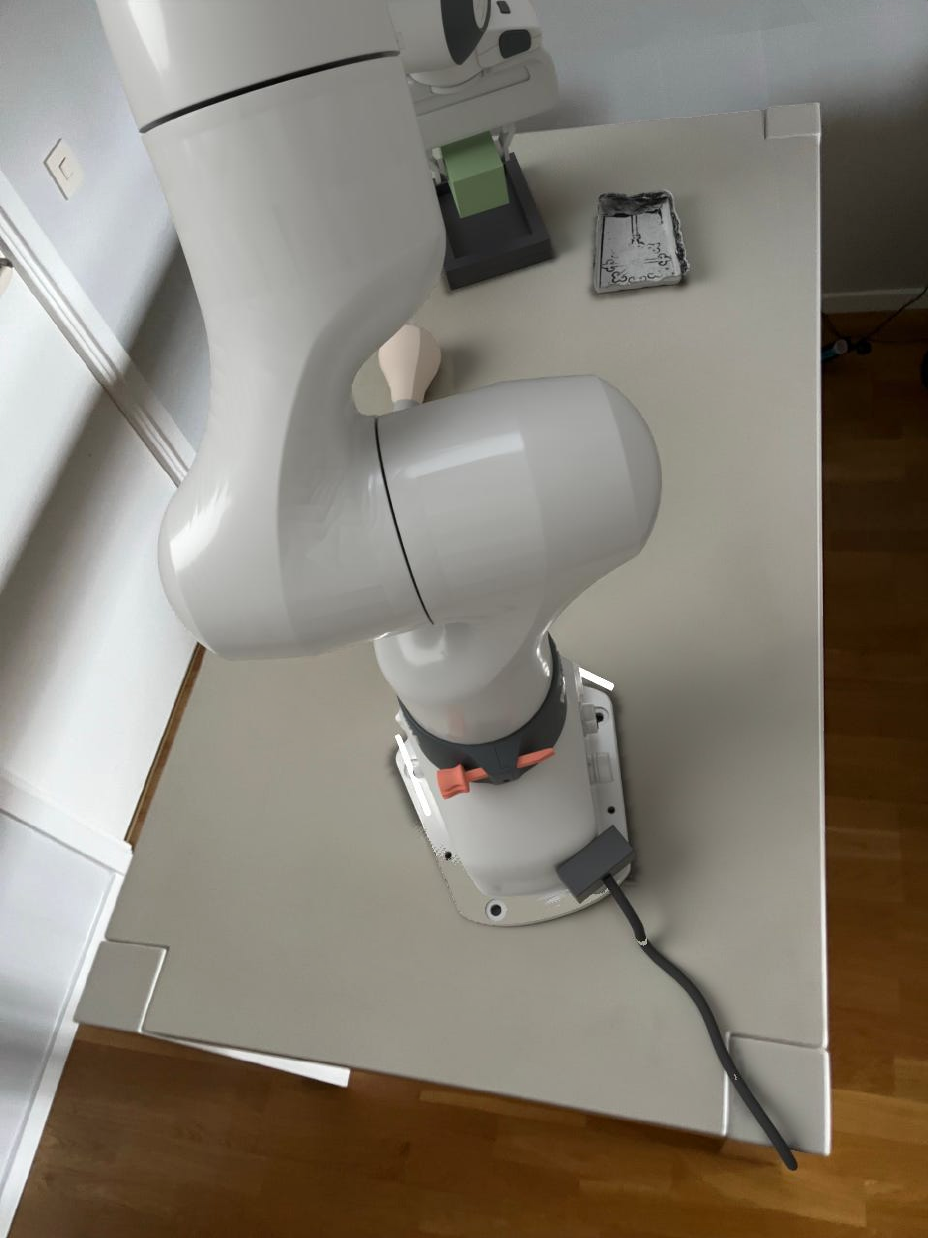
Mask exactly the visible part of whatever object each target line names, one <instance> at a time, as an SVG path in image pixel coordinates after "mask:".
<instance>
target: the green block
mask: <svg viewBox="0 0 928 1238" xmlns="http://www.w3.org/2000/svg"><path fill="white" fill-rule="evenodd" d="M494 141H495V140H494V138H493V137H492V133H491V130H489V131H486V132H483V133H480V134H477V135H474V136H471V137H468V138H465V139H462V140H459V141H456V142H453V143H450V144H447V145H444V146H441V147H438V153H439V156H440V158H443V159H444V162H445V165H446V168H447V172H448V177H449V180H448V183H449V186H450V189H451V191H452V194H453V197H454V200H455V203H456V206H457V209H458V212H459V215H460V218H464V217H467V216H470V215H473V214H476V213H479V212H483V211H486V210H489V209H492V208H495V207H498V206H501V205H505V204H508V203H509V198H508V191H507V185H506V179H505V173H504V166H503V164H502V161H501V159H500V156H499V153H498V151H497V148H496V146H495V143H494Z"/></svg>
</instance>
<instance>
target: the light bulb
mask: <svg viewBox="0 0 928 1238" xmlns="http://www.w3.org/2000/svg"><path fill="white" fill-rule="evenodd" d="M377 358H378V363H379V367H380V369H381V371H382V373H383V375H384V378H385V380H386V382H387V385H388V387H389V389H390V397H391V398H390V399H391V401H392V403H393V411H392V412H395V411H399V410H402V409H406V408H409V407H413V406H416V405H420V404H423V403H424V398H425V393H426V391H427V389H428V387H429V386H430V384H431V383H432V381H433V380H434V378H435V377H436V376H437V373H438V371H439V367H440V364H441V360H442V354H441V347H440V345H439V342H438V340H437V338H436V337H435V336H434V334H433V333H432V332H431V331H430V330H428V329H427V328H426V327H424V326H421V325H419V324H417V323H406V324H405V325H404V326H403V327H402V328H401V329H400V330H399V331H398V332H397V333H396V334H395V335H394V336H392V337H391V338H390V339H389V340H388V341H387V342H386V343H385V344H384V345H383V346H382V347H381V348H379V349H378V355H377Z"/></svg>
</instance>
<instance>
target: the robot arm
mask: <svg viewBox="0 0 928 1238" xmlns="http://www.w3.org/2000/svg"><path fill="white" fill-rule="evenodd" d="M94 1H95V5H96V9H97V11H98V16H99V18H100V19H99V20H100V23H101V25H102V29H103V33H104V36H105V39H106V42H107V44H108V48H109V52H110V54H111V57H112V60H113V64H114V66H115V69H116V72H117V75H118V78H119V81H120V84H121V87H122V90H123V92H124V95H125V98H126V100H127V103H128V106H129V109H130V111H131V114H132V117H133V121H134V122H135V125H136V128H137V130H138V133H140V134H142V135H141V136H140V138H141V140H142V143H143V145H144V148H145V150H146V153H147V156H148V158H149V161H150V164H151V166H152V169H153V171H154V174H155V177H156V180H157V182H158V184H159V187H160V189H161V192H162V195H163V197H164V200H165V203H166V206H167V208H168V211H169V214H170V217H171V220H172V223H173V225H174V228H175V231H176V234H177V236H178V240H179V243H180V245H181V249H182V252H183V255H184V257H185V261H186V264H187V267H188V269H189V270H188V271H189V273H190V276H191V280H192V283H193V287H194V290H195V293H196V296H197V299H198V303H199V306H200V310H201V315H202V319H203V322H204V326H205V332H206V337H207V345H208V349H209V350H208V351H209V362H210V363H209V368H210V369H209V370H210V388H209V389H210V391H209V392H210V393H209V402H208V403H209V404H208V410H207V415H206V420H205V421H206V422H205V427H204V431H203V434H202V437H201V440H200V444H199V447H198V449H197V452H196V454H195V457H194V459H193V462H192V464H191V465H190V467H189V469H188V471H187V473H186V474H185V476H184V478H183V480H182V481H181V483H180V484H179V486H178V487H177V489H176V490H175V491H174V493H173V495H172V496H171V498H170V500H169V502H168V504H167V506H166V508H165V511H164V514H163V516H162V519H161V522H160V526H159V532H158V537H157V551H156V552H157V553H156V554H157V555H156V556H157V570H158V575H159V579H160V584H161V587H162V589H163V590H162V591H163V593H164V595H165V598H166V600H167V602H168V604H169V606H170V608H171V611H172V612H173V614H174V615H175V617H176V618H177V620H178V621H179V623H180V624H181V625H182V627H183V628H184V629H185V630H186V632H187V633H188V634H189V635H190V636H192V637H193V638H194V639H195V640H196V641H197V642H198V643H199V644H200V645H202V646H203V647H204V648H205V649H207V650H208V651H210V652H211V653H213V654H214V655H216V656H218V657H219V658H221V659H223V660H225V661H230V662H242V661H243V662H244V661H245V662H246V661H264V660H265V661H267V660H281V659H285V660H286V659H296V658H309V657H319V656H321V655H327V654H331V653H333V652H338V651H340V650H344V649H348V648H352V647H357V646H360V645H363V644H368V643H371V642H373V649H374V654H375V659H376V661H377V665H378V667H379V670H380V671H381V674H382V675H383V677H384V678H385V680H386V681H387V683H388V684H389V686H390V687H391V689H392V690H393V691H394V693H395V694H396V698H397V701H398V705H399V709H398V712H397V714H396V715H395V716H394V717H395V721H396V723H397V724H399V726H400V727H401V728H402V729H403V730H404V732H405V733H406V737H407V738H406V740H405V741H404V742H403V739H402V737H401V736H400V734H397V735H395V739H396V741H397V744H398V746H399V748H398V750H397V751H396V755H395V763H396V766H397V768H398V771H399V773H400V776H401V779H402V780H403V783H404V785H405V788H406V791H407V793H408V795H409V798H410V799H411V802H412V804H413V805H414V809H415V811H416V813H417V816H418V818H419V821H420V823H421V825H422V827H423V830H424V833H425V835H426V834H427V835H426V838H427V839H428V838H429V840H428V842H429V841H431V844H433V845H432V847H431V849H432V848H433V849H434V847H436V848H435V849H434V851H433V849H432V851H433V853H434V852H436V850H438V849H439V850H438V852H437V853H436V856H437V855H439V853H441V852H442V853H441V855H440V856H443V855H444V854H443V853H445V856H444V857H445V858H446V859H448V860H449V859H450V858H452V857H455V855H457V856H456V857H455V858H454V859H453V860H452V862H454V860H457V859H456V858H460V859H459V860H458V861H461V862H462V864H461V865H463V866H464V868H465V870H466V871H467V873H468V875H469V876H470V877H471V879H472V880H473V881H474V883H475V885H476V886H477V888H478V889H479V890H480V891H481V892H482V893H484V894H485V895H489V896H492V897H495V896H496V897H502V898H504V897H510V898H512V897H515V896H520V897H528V898H531V897H534V896H533V895H535V896H538V895H541V897H540V898H539V899H538V900H542V899H546V898H549V897H552V896H555V895H558V896H556V897H554V898H552V899H550V900H549V901H547V902H546V903H549V902H552V903H553V901H555V902H557V901H556V900H559V899H561V898H562V897H565V896H567V895H566V894H568V893H571V894H572V896H573V897H574V898H575V899H576V901H577V902H578V903H579V904H581V903H582V902H583V901H584V900H585V899H587V898H588V897H589V896H590V895H592V894H595V895H596V894H600V893H602V894H603V892H604V893H605V890H606V889H607V888H608V890H609V891H607V892H606V893H605V894H603V895H602V896H600V897H599V898H597V899H595V900H593V901H591V902H590V903H587V904H585V905H583V906H581V907H579V908H576V909H573V910H571V911H568V912H565V913H562V914H559V915H555V916H552V917H548V918H544V919H540V920H535V921H529V922H523V923H513V924H496V923H488V924H487V925H486V926H491V927H520V926H521V927H522V926H528V925H533V924H538V923H543V922H547V921H551V920H555V919H558V918H561V917H564V916H569V915H571V914H574V913H576V912H579V911H581V910H583V909H586V908H588V907H590V906H592V905H594V904H596V903H598V902H600V901H601V900H603V899H604V898H605V897H607V896H609V895H610V894H611V896H612V897H613V899H614V900H615V902H616V903H617V906H618V907H619V908H620V910H621V911H622V913H623V915H624V916H625V918H626V919H627V921H628V922H629V924H630V926H631V928H632V929H633V930H632V931H633V933H634V937H635V940H636V939H637V940H638V941H640V942H642V941H645V939H646V937H647V935H646V931H645V927H644V924H643V922H642V920H641V919H640V917H639V914H638V913H637V911H636V910H635V908H634V907H633V906H632V904H631V902H630V901H629V899H628V897H627V896H626V895H625V893H624V891H623V890H622V889H621V887H620V885H621V884H622V883H623V882H624V881H625V880H626V878H627V877H628V876H629V874H630V873H631V869H632V863H633V861H635V860H636V852H635V848H634V847H633V846H632V845H631V843H630V842H629V833H628V825H627V815H626V808H625V799H624V792H623V791H624V790H623V784H622V774H621V765H620V757H619V748H618V740H617V732H616V722H615V714H614V705H613V703H612V701H611V697H610V696H609V695H608V694H607V693H605V692H604V691H602V690H600V689H597V688H594V687H592V686H587V685H583V679H582V678H585V679H587V680H589V681H592V682H594V683H595V684H597V685H600V686H602V687H604V688H606V689H608V690H610V691H612V690H613V688H614V683H612V682H610V681H608V680H606V679H604V678H601V677H599V676H597V675H595V674H593V673H591V672H590V671H587V670H585V669H583V668H581V667H580V665H579V663H577V662H574V660H572V659H570V658H568V657H566V656H564V655H562V654H560V652H559V650H558V649H557V644H556V642H555V641H554V639H553V637H552V636H551V633H550V632H549V629H550V628H551V626H552V625H553V624H554V623H555V621H556V620H557V619H558V618H559V617H560V616H561V614H563V612H564V611H565V610H566V609H567V608H568V607H569V606H570V605H571V604H572V603H573V602H574V601H575V600H576V599H577V598H579V596H580V595H582V594H583V593H584V592H585V591H586V590H588V589H589V588H590V587H591V586H593V585H595V584H596V583H597V582H598V581H600V580H601V579H602V578H604V577H605V576H607V575H608V574H610V573H611V572H614V570H616V569H617V568H619V567H621V566H623V565H625V564H626V563H628V562H629V561H631V560H634V559H635V558H636V557H638V556H639V555H640V553H641V552H642V551H643V549H644V548H645V546H646V545H647V542H648V540H649V538H650V536H651V534H652V532H653V530H654V528H655V525H656V522H657V519H658V516H659V511H660V507H661V503H662V493H663V471H662V469H663V468H662V463H661V458H660V454H659V450H658V446H657V443H656V440H655V436H654V435H653V433H652V431H651V429H650V427H649V425H648V423H647V421H646V420H645V418H644V416H643V415H642V414H641V412H640V410H639V409H638V407H636V406H635V404H634V403H633V402H632V401H631V400H630V399H629V398H628V396H626V395H625V393H623V392H622V391H621V390H619V389H618V388H617V387H616V386H614V385H613V384H612V383H610V382H609V381H607V380H606V379H603V378H602V377H600V376H598V375H597V374H593V373H591V374H590V373H589V374H572V375H556V376H555V375H554V376H553V375H552V376H542V377H532V378H531V377H530V378H520V379H510V380H502V381H498V382H494V383H490V384H487V385H483V386H479V387H477V388H473V389H469V390H466V391H462V392H459V393H455V394H452V395H449V396H445V397H442V398H438V399H435V400H431V401H427V402H423V403H422V404H420V405H416V406H413V407H409V408H406V409H402V410H399V411H395V412H393V411H392V412H388V413H385V414H381V415H379V414H373V415H366V414H363V413H361V411H360V410H359V409H358V408H357V404H356V402H355V398H354V393H353V383H354V379H355V378H356V376H357V374H358V372H359V371H360V369H361V368H362V367H363V365H364V364H365V363H366V362H367V361H368V360H369V359H370V358H371V357H372V356H373V355H374V354H375V353H376V352H378V351H379V349H380V348H381V347H382V346H383V345H384V344H385V343H386V342H387V341H388V340H389V339H390V338H391V337H392V336H394V335H395V334H396V333H397V332H398V331H399V330H400V329H401V328H402V327H403V326H404V325H405V324H408V322H409V321H410V320H411V319H412V318H413V317H414V315H415V314H416V313H417V312H418V311H419V310H420V308H422V307H423V305H424V304H425V303H426V301H427V300H428V299H429V298H430V296H431V293H432V292H433V290H434V289H435V287H436V285H437V284H438V281H439V279H440V277H441V274H442V270H443V263H444V258H445V252H446V230H445V225H444V221H443V217H442V213H441V209H440V205H439V201H438V197H437V194H436V190H435V186H434V182H433V178H435V179H436V182H437V184H439V183H442V182H445V181H448V180H449V177H448V172H447V168H446V165H445V162H444V159H443V158H441V157H440V158H436V157H435V156H434V154H433V150H434V149H437V148H438V147H441V146H444V145H447V144H450V143H453V142H456V141H459V140H462V139H465V138H468V137H471V136H474V135H477V134H480V133H483V132H486V131H492V130H495V129H499V128H501V129H500V132H499V136H498V138H497V139H495V140H493V141H494V143H495V146H496V148H497V151H498V153H499V156H500V159H501V161H502V163H503V162H506V161H509V160H510V157H509V153H510V151H509V147H510V146H511V143H512V141H513V139H514V137H515V134H516V132H517V127H516V123H517V122H519V121H523V120H526V119H529V118H532V117H535V116H537V115H541V114H544V113H548V112H550V111H553V110H554V109H555V107H556V106H557V104H558V102H559V100H560V97H561V94H560V93H561V92H560V84H559V80H558V75H557V70H556V67H555V63H554V59H553V56H552V54H551V52H550V50H549V47H548V46H547V43H546V42H545V39H544V38H543V32H542V28H541V23H540V21H539V17H538V15H537V13H536V11H535V9H534V7H533V6H532V4H531V2H530V1H529V0H94ZM432 173H433V174H432ZM433 175H434V177H433ZM598 716H600V717H602V718H603V719H602V721H600V722H599V720H598V719H597V717H598ZM610 810H613V811H614V812H612V813H610V812H609V811H610ZM425 829H426V830H425ZM425 831H426V832H425ZM431 844H430V845H431ZM442 845H443V846H442ZM440 847H441V848H440ZM443 848H446V849H445V850H444V849H443ZM442 850H444V851H442ZM445 851H449V852H445ZM449 855H451V856H450V858H448V856H449ZM436 856H435V859H436V860H437V858H436ZM440 856H439V857H440ZM443 859H444V858H443ZM441 861H442V860H441ZM458 861H457V863H459V862H458ZM438 865H439V864H438ZM455 865H456V864H455ZM461 865H460V866H461ZM439 867H440V865H439ZM463 870H464V869H463ZM441 874H443V872H442V871H441ZM443 877H444V876H443ZM444 879H445V877H444ZM617 880H618V881H619V880H620V881H619V882H618V881H617ZM617 882H618V883H617ZM446 885H447V886H448V884H447V883H446ZM566 889H568V890H569V891H567V890H566ZM564 890H566V891H567V892H565V893H563V894H560V892H561V893H562V891H563V892H564ZM449 892H450V893H451V891H450V890H449ZM554 894H555V895H554ZM559 894H560V895H559ZM551 895H552V896H551ZM564 895H565V896H564ZM568 895H569V894H568ZM530 896H531V897H530ZM548 896H549V897H548ZM561 896H562V897H561ZM451 897H452V899H453V900H454V898H453V896H452V895H451ZM544 897H545V898H544ZM560 897H561V898H560ZM516 898H517V897H516ZM541 898H542V899H541ZM538 900H537V901H538ZM546 900H547V899H546ZM559 901H560V900H559ZM546 903H545V904H546ZM549 904H550V903H549ZM546 905H547V904H546ZM455 906H456V908H457V910H458V911H459V909H458V907H457V905H456V904H455ZM558 906H560V905H558ZM495 907H500V908H501V909H500V910H501V911H500V913H499V914H498V915H494V914H493V909H494V908H495ZM556 907H557V906H556ZM506 911H507V908H506V905H505V903H504V902H503V901H502V900H500V899H492V900H490V901H489V902H488V903H487V904H486V907H485V914H486V916H487V918H488V919H489V920H490V919H491V921H494V922H497V921H500V920H502V919H503V918H504V917H505V915H506ZM459 913H460V915H461V914H462V913H461V912H459ZM492 917H493V918H492ZM467 920H468V921H471V919H470V918H469V919H467ZM477 922H479V921H477V920H475V921H474V922H473V923H477ZM479 924H480V925H485V923H484V922H482V921H481V923H479ZM492 924H495V926H493V925H492ZM502 925H503V926H502ZM637 940H636V941H637ZM637 944H638V945H639V948H640V949H641V950H642V951H643V952H644V953H645V954H646V955H647V957H648V958H649V959H650V960H651V961H652V962H653V963H655V964H656V965H657V966H658V967H659V968H660V969H661V970H662V971H664V972H665V973H666V974H667V975H669V976H670V977H671V978H672V979H673V980H674V981H675V982H676V983H677V984H678V985H680V987H681V988H682V989H683V990H684V991H685V992H686V993H687V994H688V996H689V997H690V998H691V1000H692V1002H693V1003H694V1004H695V1006H696V1008H697V1010H698V1012H699V1014H700V1015H701V1018H702V1020H703V1022H704V1024H705V1027H706V1030H707V1033H708V1035H709V1038H710V1041H711V1043H712V1046H713V1048H714V1050H715V1053H716V1055H717V1057H718V1060H719V1062H720V1064H721V1066H722V1067H723V1070H724V1071H725V1073H726V1075H727V1077H728V1078H729V1080H730V1081H731V1083H732V1085H733V1087H734V1088H735V1090H736V1091H737V1093H738V1095H739V1096H740V1097H741V1099H742V1101H743V1103H744V1104H745V1105H746V1107H747V1108H748V1111H750V1113H751V1114H752V1116H753V1117H754V1119H755V1120H756V1122H757V1123H758V1124H759V1126H760V1127H761V1129H762V1130H763V1132H764V1133H765V1135H766V1136H767V1138H768V1139H769V1141H770V1142H771V1144H772V1146H773V1147H774V1148H775V1147H776V1148H775V1150H776V1152H777V1153H778V1155H779V1157H780V1158H781V1161H783V1164H784V1165H785V1167H786V1168H787V1170H790V1171H791V1172H795V1171H797V1170H798V1168H799V1165H798V1161H797V1159H796V1157H795V1156H794V1154H793V1152H792V1151H791V1148H790V1147H789V1145H788V1144H787V1142H786V1141H785V1139H784V1138H783V1136H782V1135H781V1133H780V1132H779V1130H778V1128H777V1127H776V1126H775V1125H774V1123H773V1121H772V1120H771V1119H770V1117H769V1115H768V1114H767V1112H766V1111H765V1110H764V1109H763V1107H762V1105H761V1104H760V1103H759V1101H758V1100H757V1098H756V1097H755V1095H754V1094H753V1093H752V1091H751V1089H750V1088H749V1086H748V1085H747V1083H746V1081H745V1080H744V1078H743V1077H742V1075H741V1073H740V1071H739V1069H738V1068H737V1066H736V1065H735V1063H734V1061H733V1058H732V1057H731V1055H730V1052H729V1051H728V1049H727V1046H726V1044H725V1042H724V1041H725V1040H724V1039H723V1036H722V1034H721V1031H720V1028H719V1026H718V1023H717V1021H716V1018H715V1016H714V1013H713V1011H712V1009H711V1007H710V1006H709V1005H710V1004H708V1002H707V1000H706V998H705V997H704V996H703V994H702V992H701V991H700V990H699V988H698V987H697V986H696V984H694V982H693V981H692V980H691V979H690V978H689V977H688V976H687V975H686V974H685V973H684V972H683V971H682V970H681V969H680V968H679V967H677V966H676V965H674V963H673V962H671V961H670V960H668V959H667V957H665V956H664V955H663V954H662V953H661V952H659V951H658V949H657V948H655V946H654V945H653V944H652V942H650V940H649V939H648V938H647V944H646V945H644V946H643V945H640V944H639V943H638V942H637ZM734 1074H735V1075H736V1077H737V1078H736V1079H737V1080H735V1076H734Z"/></svg>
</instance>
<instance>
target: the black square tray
mask: <svg viewBox="0 0 928 1238" xmlns="http://www.w3.org/2000/svg"><path fill="white" fill-rule="evenodd" d="M509 157H510V160H509V161H506V162H503V163H502V164H503V166H504V173H505V179H506V185H507V191H508V198H509V203H508V204H505V205H501V206H498V207H495V208H492V209H489V210H486V211H483V212H479V213H476V214H473V215H470V216H467V217H464V218H460V215H459V212H458V209H457V206H456V203H455V200H454V197H453V194H452V191H451V189H450V186H449V183H448V181H445V182H442V183H439V184H437V182H436V179H435V177H432V178H433V182H434V186H435V190H436V194H437V197H438V201H439V205H440V209H441V213H442V217H443V221H444V225H445V230H446V252H445V258H444V263H443V268H442V270H443V272H444V275H445V278H446V282H447V285H448V287H449V290H450V291H453V290H456V289H459V288H463V287H465V286H469V285H472V284H475V283H478V282H481V281H484V280H487V279H491V278H493V277H497V276H500V275H503V274H507V273H509V272H510V273H511V272H512V271H516V270H519V269H522V268H526V267H528V266H531V265H535V264H537V263H541V262H543V261H547V260H551V259H553V253H552V252H553V251H552V243H551V237H550V235H549V233H548V230H547V228H546V226H545V223H544V220H543V218H542V216H541V214H540V210H539V209H538V206H537V205H536V202H535V199H534V197H533V195H532V192H531V190H530V187H529V185H528V182H527V180H526V177H525V174H524V173H523V170H522V168H521V165H520V163H519V161H518V158H517V156H516V153H515V152H514V151H511V152H509Z"/></svg>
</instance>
